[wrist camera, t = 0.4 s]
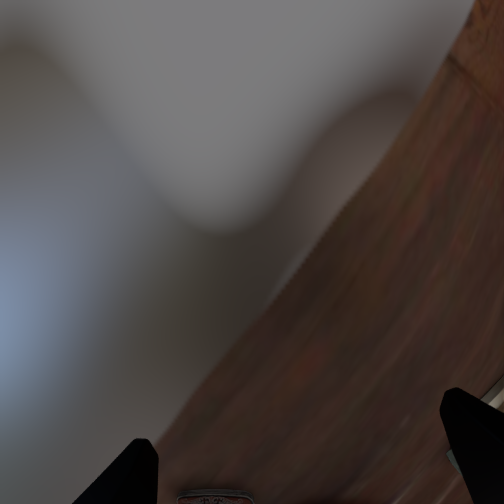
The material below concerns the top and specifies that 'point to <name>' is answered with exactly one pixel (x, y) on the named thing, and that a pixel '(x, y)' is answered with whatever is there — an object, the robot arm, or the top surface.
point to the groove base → (496, 396)
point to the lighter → (215, 497)
